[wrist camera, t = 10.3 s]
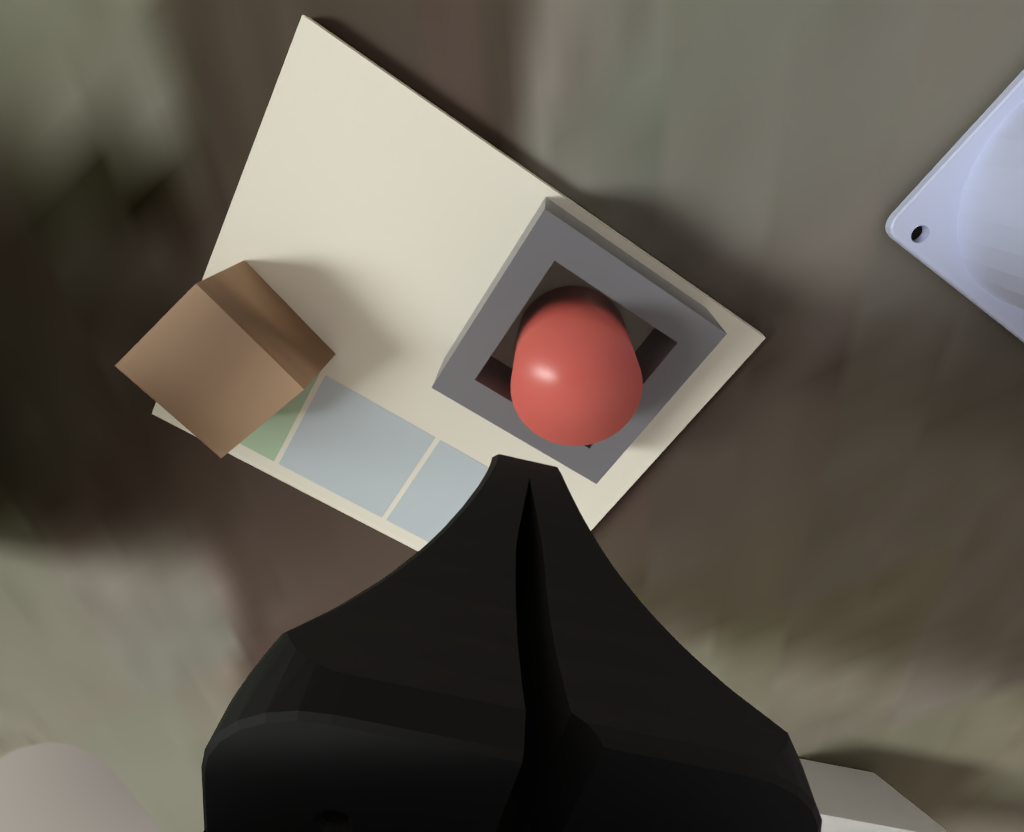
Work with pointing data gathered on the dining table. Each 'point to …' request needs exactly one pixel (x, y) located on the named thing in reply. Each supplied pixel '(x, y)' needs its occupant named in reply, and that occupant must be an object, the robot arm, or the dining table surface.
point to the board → (406, 293)
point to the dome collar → (571, 243)
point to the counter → (226, 357)
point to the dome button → (574, 368)
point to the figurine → (862, 802)
